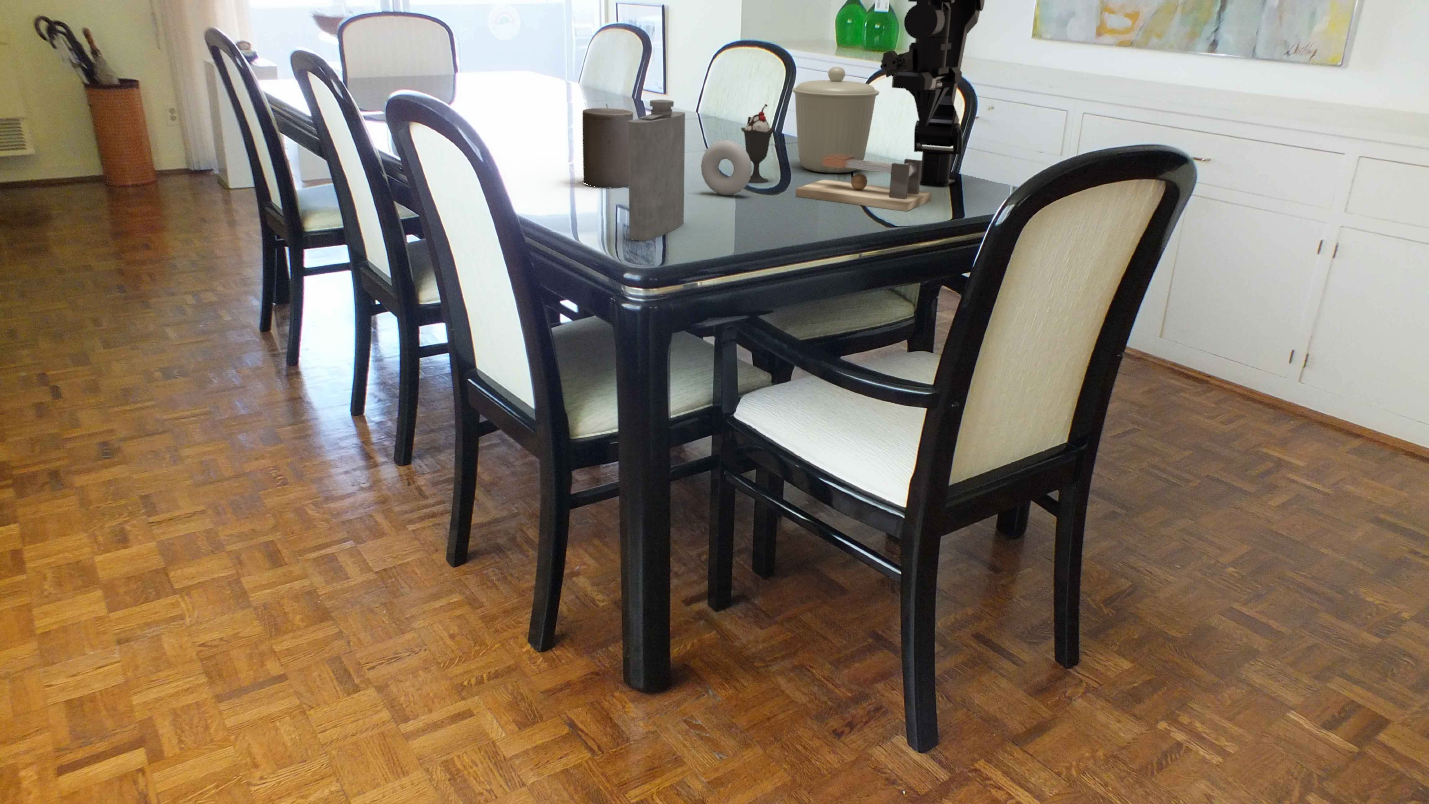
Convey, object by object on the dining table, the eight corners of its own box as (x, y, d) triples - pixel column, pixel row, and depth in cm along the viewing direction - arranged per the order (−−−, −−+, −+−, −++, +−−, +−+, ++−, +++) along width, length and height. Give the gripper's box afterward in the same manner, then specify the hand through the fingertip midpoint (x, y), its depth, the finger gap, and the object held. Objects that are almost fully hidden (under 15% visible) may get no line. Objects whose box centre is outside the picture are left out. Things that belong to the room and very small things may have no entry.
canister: (773, 165, 226) (777, 63, 218) (844, 161, 233) (851, 63, 225) (815, 179, 211) (821, 70, 203) (889, 174, 218) (898, 69, 210)
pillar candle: (573, 185, 198) (572, 104, 192) (597, 177, 207) (597, 99, 201) (619, 190, 195) (619, 108, 189) (641, 182, 203) (642, 103, 198)
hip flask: (669, 220, 171) (670, 94, 164) (691, 222, 170) (693, 96, 162) (625, 239, 158) (624, 103, 150) (649, 242, 156) (649, 105, 149)
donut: (753, 196, 192) (755, 141, 188) (746, 199, 189) (748, 143, 185) (705, 191, 196) (706, 137, 192) (697, 194, 193) (698, 139, 189)
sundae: (770, 184, 204) (773, 105, 198) (736, 182, 205) (739, 104, 199) (775, 178, 210) (778, 102, 204) (742, 177, 211) (744, 100, 205)
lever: (833, 165, 196) (834, 152, 195) (917, 176, 188) (918, 162, 187) (822, 168, 192) (823, 155, 191) (906, 179, 184) (908, 166, 183)
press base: (823, 187, 202) (825, 148, 200) (930, 200, 192) (934, 159, 189) (795, 196, 193) (797, 155, 190) (906, 211, 182) (910, 168, 180)
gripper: (910, 33, 197) (903, 117, 202) (868, 36, 182) (861, 127, 188) (967, 35, 191) (957, 122, 197) (927, 39, 176) (919, 133, 182)
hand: (923, 126), depth 191 cm, fingers closed
